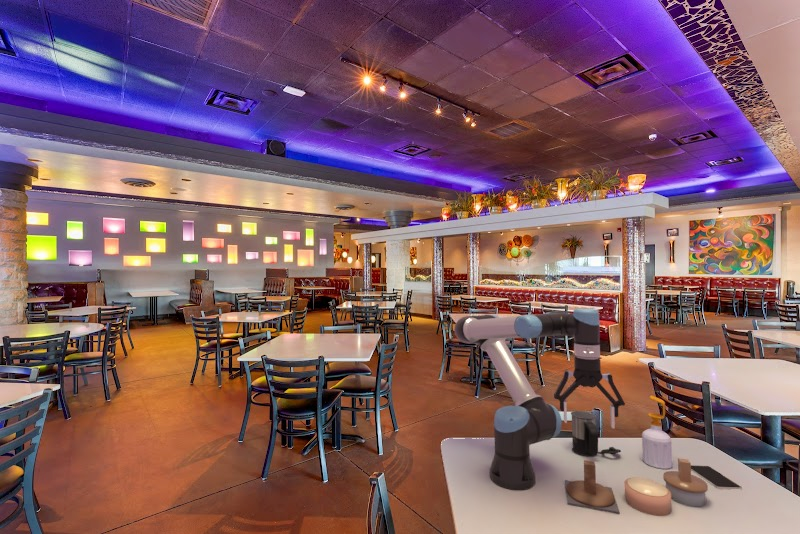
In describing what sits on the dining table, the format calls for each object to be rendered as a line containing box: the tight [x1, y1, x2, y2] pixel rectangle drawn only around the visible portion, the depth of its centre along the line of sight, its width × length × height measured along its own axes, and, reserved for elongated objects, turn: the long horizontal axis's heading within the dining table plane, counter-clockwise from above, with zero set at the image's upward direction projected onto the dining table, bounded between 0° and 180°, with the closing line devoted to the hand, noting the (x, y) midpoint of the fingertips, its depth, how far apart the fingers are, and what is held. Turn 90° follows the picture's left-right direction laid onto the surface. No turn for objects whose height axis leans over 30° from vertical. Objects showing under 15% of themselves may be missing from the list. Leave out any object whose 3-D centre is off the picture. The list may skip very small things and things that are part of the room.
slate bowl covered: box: [662, 457, 708, 508], centre depth 119 cm, size 11×11×11 cm
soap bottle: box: [641, 395, 673, 470], centre depth 142 cm, size 9×9×25 cm
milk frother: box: [570, 410, 622, 457], centre depth 150 cm, size 14×16×15 cm
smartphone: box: [691, 464, 743, 490], centre depth 131 cm, size 8×1×15 cm
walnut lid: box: [567, 459, 616, 508], centre depth 120 cm, size 14×14×10 cm
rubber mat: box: [564, 479, 620, 515], centre depth 120 cm, size 14×14×1 cm
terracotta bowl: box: [624, 477, 672, 517], centre depth 116 cm, size 12×12×5 cm
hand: (588, 424), depth 121 cm, fingers open, 13 cm apart
